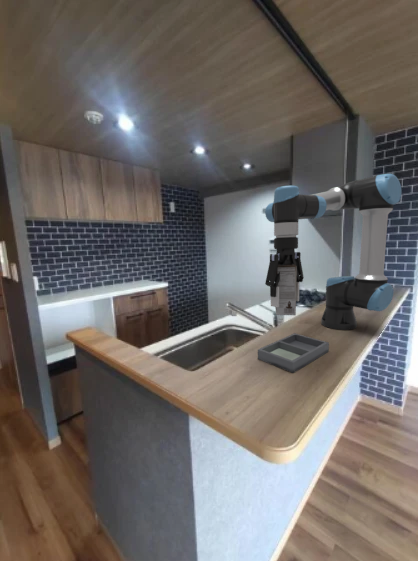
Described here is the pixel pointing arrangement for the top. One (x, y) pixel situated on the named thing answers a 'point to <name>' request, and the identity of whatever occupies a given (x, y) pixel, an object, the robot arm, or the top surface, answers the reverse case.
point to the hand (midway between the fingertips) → (285, 303)
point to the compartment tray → (293, 352)
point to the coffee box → (287, 289)
